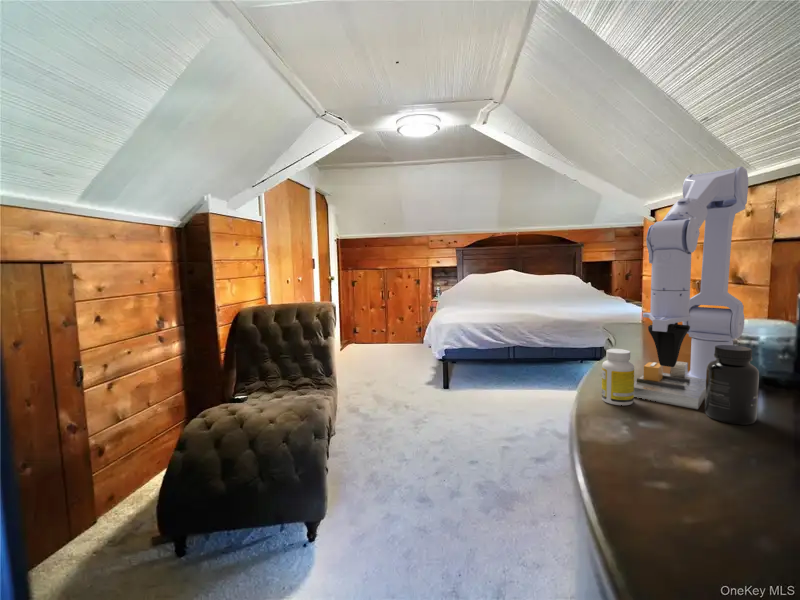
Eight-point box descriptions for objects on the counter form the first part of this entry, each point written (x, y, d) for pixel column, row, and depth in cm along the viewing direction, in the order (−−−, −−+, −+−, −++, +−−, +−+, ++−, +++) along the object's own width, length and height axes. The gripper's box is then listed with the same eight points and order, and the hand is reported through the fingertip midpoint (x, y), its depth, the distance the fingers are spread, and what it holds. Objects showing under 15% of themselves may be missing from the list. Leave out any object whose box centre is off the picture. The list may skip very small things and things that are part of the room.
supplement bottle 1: (640, 402, 77) (641, 351, 76) (621, 408, 74) (622, 355, 73) (613, 394, 82) (614, 346, 81) (595, 399, 79) (595, 350, 78)
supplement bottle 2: (767, 426, 65) (771, 352, 63) (717, 425, 66) (721, 352, 65) (740, 410, 71) (743, 343, 70) (696, 409, 73) (699, 343, 72)
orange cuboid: (648, 376, 85) (648, 361, 85) (662, 378, 84) (662, 362, 83) (643, 380, 83) (643, 365, 82) (657, 382, 81) (658, 367, 81)
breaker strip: (647, 379, 90) (648, 357, 90) (709, 389, 83) (710, 365, 82) (629, 396, 80) (629, 371, 80) (697, 409, 73) (698, 382, 72)
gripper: (654, 286, 79) (652, 354, 81) (632, 292, 69) (630, 370, 70) (698, 286, 75) (695, 359, 76) (682, 293, 64) (679, 378, 66)
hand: (667, 365), depth 73 cm, fingers closed
